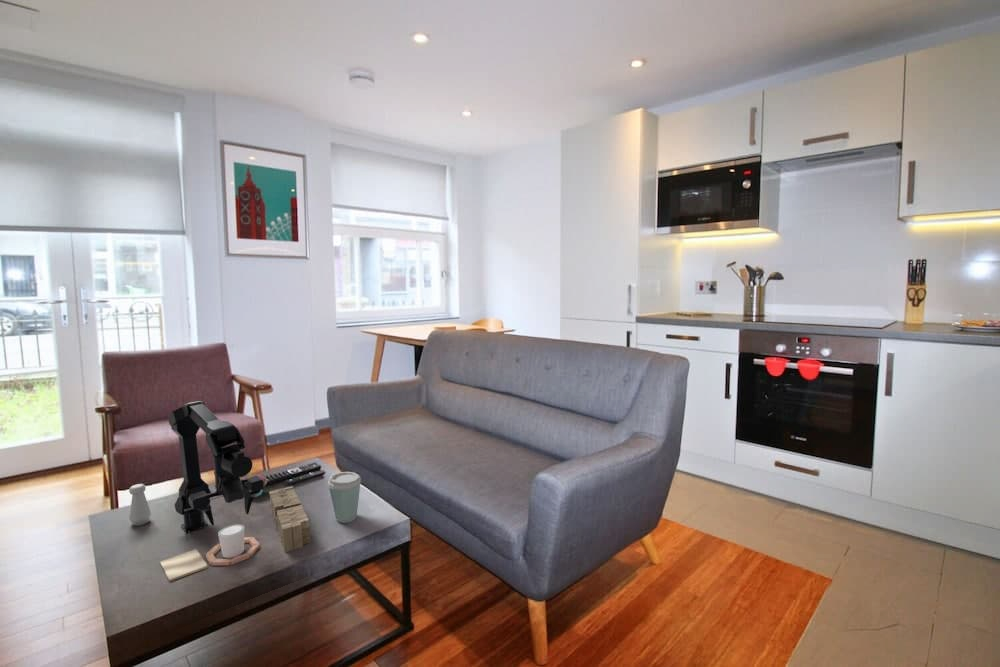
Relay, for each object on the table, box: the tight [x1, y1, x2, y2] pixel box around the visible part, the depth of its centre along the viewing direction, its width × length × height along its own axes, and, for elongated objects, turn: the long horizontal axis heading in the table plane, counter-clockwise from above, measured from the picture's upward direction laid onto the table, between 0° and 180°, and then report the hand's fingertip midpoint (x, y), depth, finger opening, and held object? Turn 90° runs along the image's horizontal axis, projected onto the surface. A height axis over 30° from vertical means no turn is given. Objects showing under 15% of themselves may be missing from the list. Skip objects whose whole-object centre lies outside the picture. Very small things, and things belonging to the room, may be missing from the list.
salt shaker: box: [128, 483, 152, 527], centre depth 162 cm, size 6×6×13 cm
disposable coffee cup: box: [327, 471, 362, 524], centre depth 162 cm, size 11×11×15 cm
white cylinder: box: [217, 524, 246, 559], centre depth 144 cm, size 7×7×7 cm
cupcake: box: [243, 471, 268, 498], centre depth 182 cm, size 9×8×12 cm
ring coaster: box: [205, 536, 260, 566], centre depth 144 cm, size 13×13×1 cm
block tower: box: [268, 486, 311, 553], centre depth 158 cm, size 8×8×29 cm
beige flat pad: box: [159, 548, 208, 583], centre depth 138 cm, size 12×9×1 cm
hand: (230, 519), depth 143 cm, fingers open, 9 cm apart
